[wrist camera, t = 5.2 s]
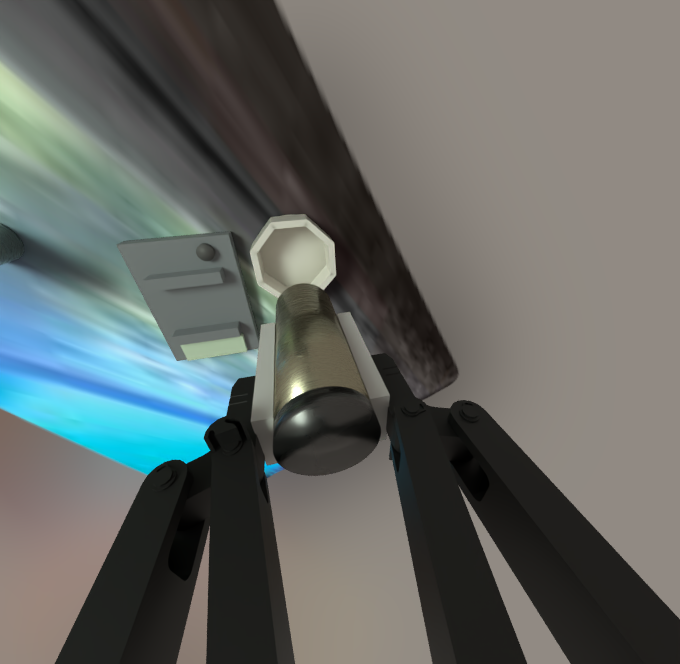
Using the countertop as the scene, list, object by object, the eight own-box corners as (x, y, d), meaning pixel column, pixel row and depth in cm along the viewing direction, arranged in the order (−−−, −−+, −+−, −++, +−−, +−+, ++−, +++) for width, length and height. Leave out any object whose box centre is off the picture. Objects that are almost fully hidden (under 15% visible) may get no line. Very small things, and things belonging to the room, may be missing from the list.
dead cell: (265, 297, 16) (250, 435, 8) (319, 274, 16) (363, 388, 7) (291, 340, 18) (301, 487, 10) (338, 320, 18) (391, 450, 9)
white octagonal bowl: (247, 217, 26) (243, 225, 23) (326, 211, 27) (332, 216, 24) (264, 291, 31) (262, 305, 28) (331, 283, 32) (337, 295, 29)
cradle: (124, 241, 25) (107, 249, 23) (230, 231, 26) (226, 238, 24) (180, 353, 33) (172, 368, 30) (260, 341, 34) (259, 355, 32)
